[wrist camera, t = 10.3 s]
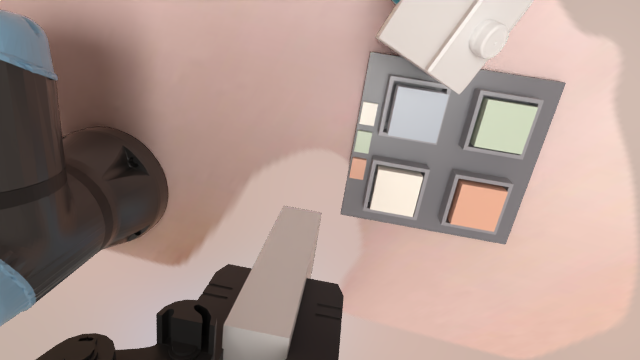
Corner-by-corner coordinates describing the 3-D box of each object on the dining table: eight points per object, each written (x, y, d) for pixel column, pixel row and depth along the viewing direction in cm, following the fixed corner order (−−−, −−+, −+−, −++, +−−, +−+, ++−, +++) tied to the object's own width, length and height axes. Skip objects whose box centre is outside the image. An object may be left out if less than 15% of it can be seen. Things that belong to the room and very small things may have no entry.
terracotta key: (445, 214, 43) (450, 224, 41) (457, 176, 42) (462, 184, 39) (487, 222, 43) (493, 231, 41) (500, 184, 41) (508, 192, 39)
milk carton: (374, 37, 39) (379, 37, 22) (416, -27, 37) (460, -87, 19) (428, 75, 40) (475, 104, 22) (473, 14, 37) (566, -6, 20)
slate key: (386, 130, 39) (387, 135, 37) (396, 83, 37) (398, 86, 35) (431, 137, 39) (436, 143, 37) (443, 91, 37) (449, 94, 35)
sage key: (467, 140, 40) (474, 146, 38) (481, 96, 38) (488, 99, 36) (512, 148, 40) (521, 154, 38) (527, 103, 38) (538, 107, 36)
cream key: (369, 201, 44) (370, 209, 42) (377, 162, 42) (378, 169, 40) (410, 208, 44) (412, 217, 41) (420, 170, 42) (423, 177, 40)
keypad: (341, 210, 46) (339, 221, 43) (370, 51, 40) (371, 52, 37) (502, 240, 45) (511, 253, 42) (561, 81, 38) (576, 84, 36)
